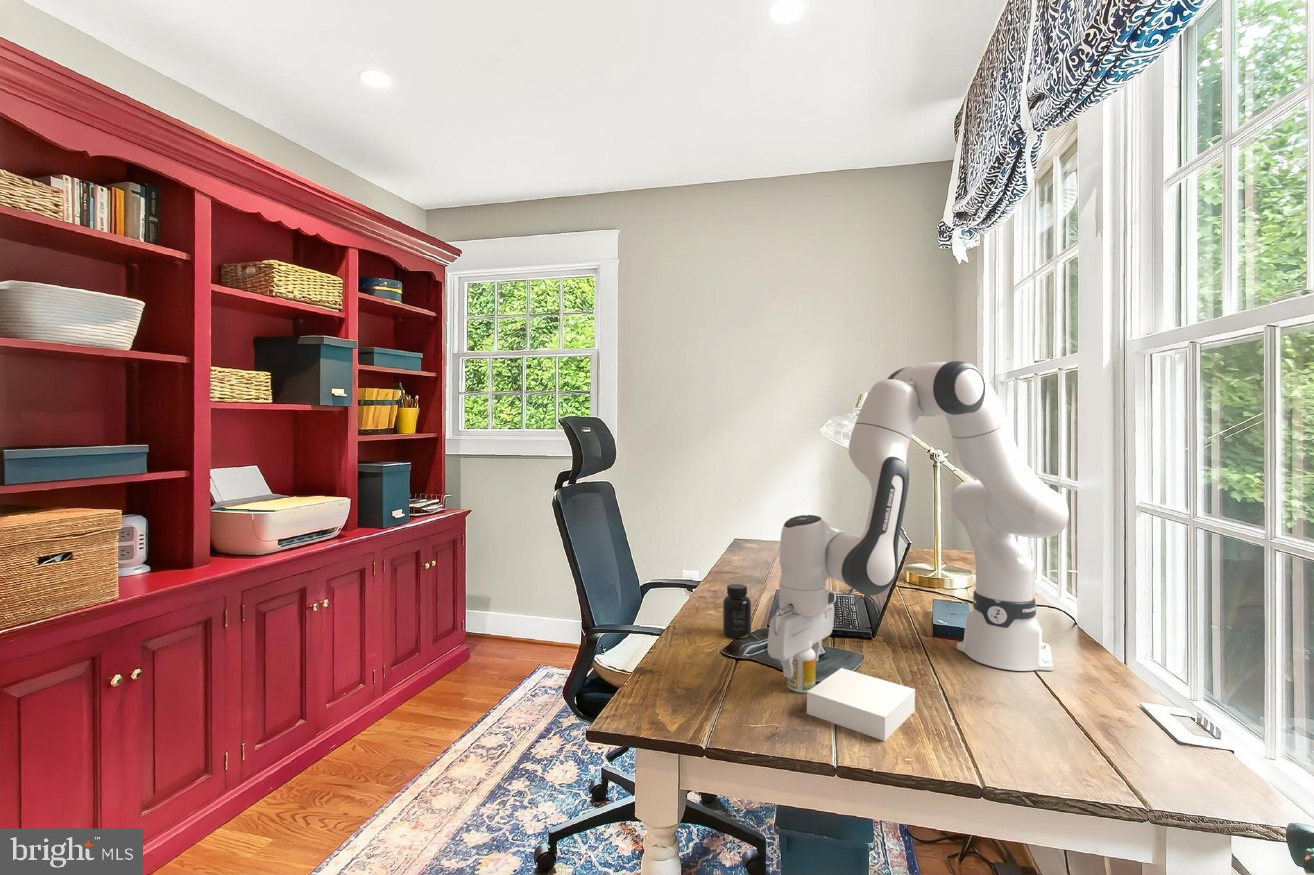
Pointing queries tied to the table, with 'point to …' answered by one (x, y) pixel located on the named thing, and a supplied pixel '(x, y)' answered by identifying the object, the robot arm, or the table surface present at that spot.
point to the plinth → (861, 703)
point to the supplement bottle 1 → (736, 612)
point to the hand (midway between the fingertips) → (801, 668)
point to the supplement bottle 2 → (803, 671)
